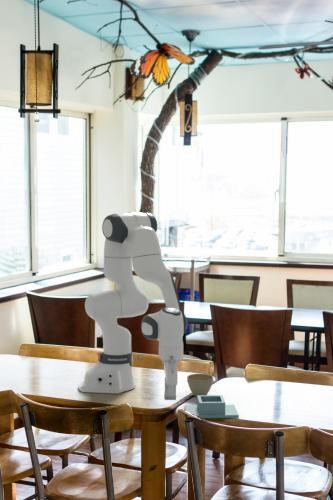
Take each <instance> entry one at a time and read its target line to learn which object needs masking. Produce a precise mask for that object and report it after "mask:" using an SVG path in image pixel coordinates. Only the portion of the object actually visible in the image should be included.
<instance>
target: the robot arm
mask: <svg viewBox="0 0 333 500" xmlns="http://www.w3.org/2000/svg"><path fill="white" fill-rule="evenodd" d="M101 225H102V226H101V227H102V228H101V229H102V234H103V236H104V237H105V241H104V247H103V248H104V249H103V275H104V277H105V279H107V280H108V281H110V282H112V283H114V284H116V285H117V286H116V287H117V290H100V291H96V292H92V293H89V294H88V296H87V297H86V298H85V302H84V309H85V312H86V314H87V316H88V317H89V318H91V319H92V320H93V321H95V322H96V323H97V325H98V326H99V328H100V331H101V335H102V344H103V347H102V349H103V351H102V350H100V351H98V353H97V356H98V357H97V359H98V361H97V363H95V364H93V365H92V366H91V367H90V368H88V369H87V371H86V373H85V374H84V378H83V379H84V380H83V381H81V382H80V383H79V384H78V390H79V391H80V392H82V393H97V394H121V393H124V392H128V391H130V390H133V389H135V388H136V384H135V379H134V375H133V362H134V361H133V359H134V358H133V351H132V334H131V332H130V331H129V329H128V328H127V327H124V326H122V325H120V324H118V319H122V318H134V317H138V316H141V315H144V314H145V313H146V312H147V311H148V309H149V303H150V300H149V297H148V295H147V294H146V292H144V290H143V289H141V288H140V287H139V286H138V285H137V283H136V282H135V279H134V276H133V274H134V273H135V274H136V276H137V277H138V278H140V279H141V280H143V281H146V282H147V283H151V284H154V285H155V286H157V287H158V288H159V290H160V291H161V293H162V296H163V300H164V303H165V306H164V307H162V308H161V309H160V310H159V311H157V312H154V313H149V314H146V315H144V316H143V318H142V319H141V322H140V323H141V324H140V331H141V334H142V336H143V337H144V338H145V339H146V340H150V341H158V359H160V360H161V363H162V364H163V370H164V374H165V375H164V376H165V377H166V382H167V385H168V392H173V386H176V387H177V385H178V364H179V363H180V360H182V359H183V358H184V341H183V336H184V334H185V333H186V330H187V328H188V319H187V316H186V314H185V312H184V310H183V308H182V304H181V301H180V297H179V294H178V289H177V287H176V283H175V280H174V276H173V274H172V272H171V271H170V269H168V268H167V266H166V265H165V263H164V260H163V257H162V249H161V246H160V241H159V238H158V235H157V231H158V222H157V218H156V216H155V215H154V214H152V213H150V212H146V211H142V212H141V211H128V212H122V213H112V214H109V215H107V216H106V217H105V218H104V219H103V221H102V224H101ZM133 271H134V273H133Z"/></svg>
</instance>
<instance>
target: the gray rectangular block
mask: <svg viewBox="0 0 333 500" xmlns="http://www.w3.org/2000/svg"><path fill="white" fill-rule="evenodd" d="M163 396H164V397H163V398H164V400H165V401H176V399H177V385H176V386H173V392H168V385H167V382H166V376H165V377H164V394H163Z"/></svg>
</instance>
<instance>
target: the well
mask: <svg viewBox="0 0 333 500" xmlns="http://www.w3.org/2000/svg"><path fill="white" fill-rule="evenodd" d="M196 402H197V403H196V404H189V405H188V404H187V405H186V404H185V405H184V411H185V410H186V411H188V412H190V413H192V414H194V415H195V416H197V417H200V418H199V419H230V418H231V419H239V413H238V410H237V408H236V406H235V404H226V400H225V398H224V397H223V394H218V395H217V394H216V395H215V394H213V395H212V394H210V395H209V394H207V395H197V396H196Z"/></svg>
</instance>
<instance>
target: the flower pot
mask: <svg viewBox="0 0 333 500" xmlns="http://www.w3.org/2000/svg"><path fill="white" fill-rule="evenodd" d="M186 379H187V384H188V387H189V389H190V392H191V394H192V395H193V396H194V397H197V395H209V394H208V393H209V392H210V390H211V388H212V385H213V382H214V376H213V375H212V374H209V373H191V374H189V375H187V376H186Z"/></svg>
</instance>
